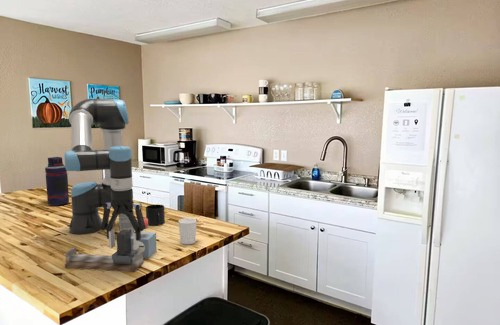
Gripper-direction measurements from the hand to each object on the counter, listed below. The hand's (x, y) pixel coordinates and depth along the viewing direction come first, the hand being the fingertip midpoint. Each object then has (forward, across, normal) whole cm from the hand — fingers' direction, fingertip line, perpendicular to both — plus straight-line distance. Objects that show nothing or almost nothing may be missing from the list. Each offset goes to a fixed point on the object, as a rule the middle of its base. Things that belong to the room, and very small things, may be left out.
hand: (124, 247), depth 128 cm
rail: (+7, -8, 0) cm, 11 cm away
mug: (+8, -8, +51) cm, 52 cm away
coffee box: (+8, -15, +32) cm, 36 cm away
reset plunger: (-4, +2, +12) cm, 13 cm away
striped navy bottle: (+8, -85, +81) cm, 118 cm away
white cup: (+8, +16, +28) cm, 33 cm away
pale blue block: (+7, +2, +12) cm, 14 cm away
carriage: (+5, 0, 0) cm, 5 cm away
